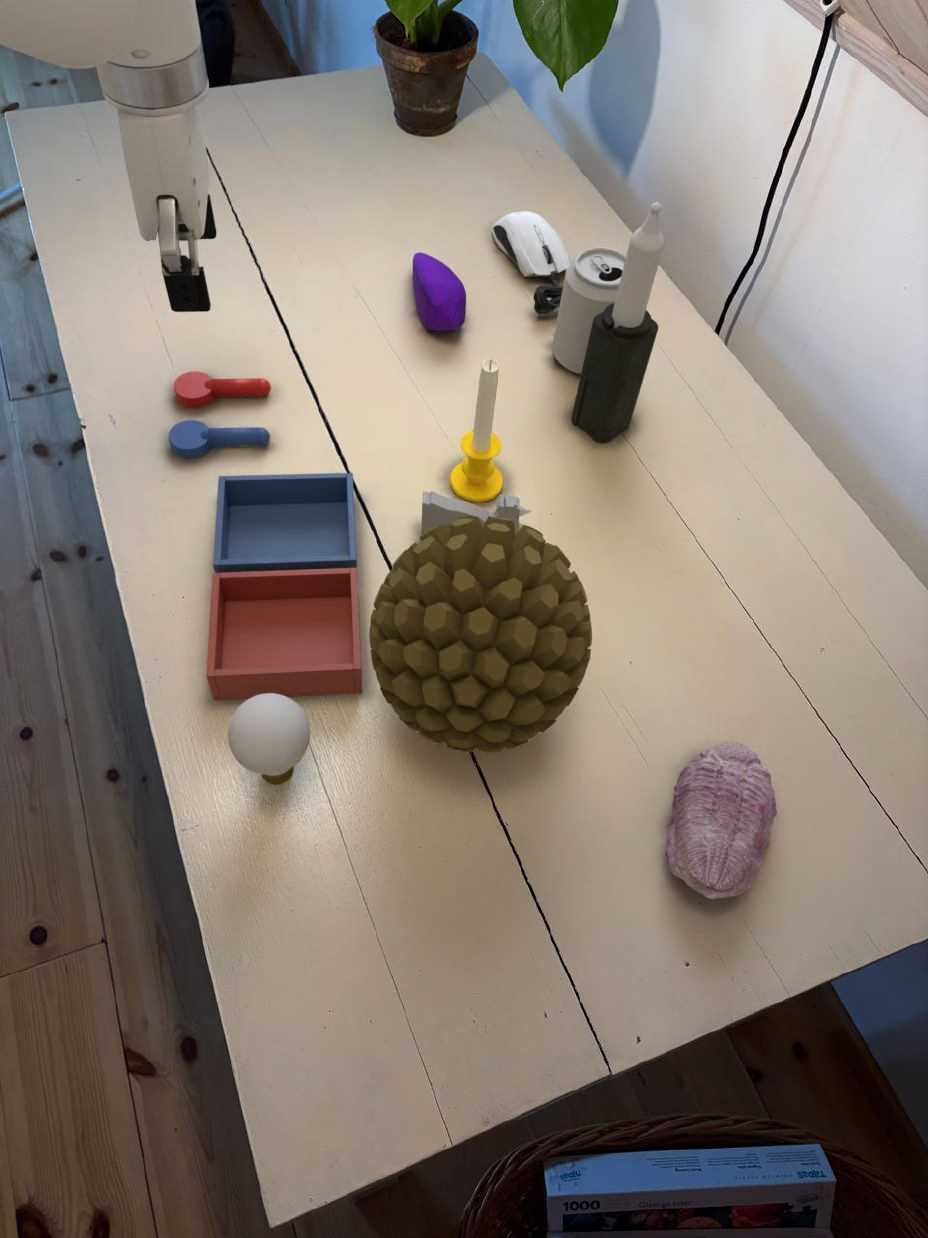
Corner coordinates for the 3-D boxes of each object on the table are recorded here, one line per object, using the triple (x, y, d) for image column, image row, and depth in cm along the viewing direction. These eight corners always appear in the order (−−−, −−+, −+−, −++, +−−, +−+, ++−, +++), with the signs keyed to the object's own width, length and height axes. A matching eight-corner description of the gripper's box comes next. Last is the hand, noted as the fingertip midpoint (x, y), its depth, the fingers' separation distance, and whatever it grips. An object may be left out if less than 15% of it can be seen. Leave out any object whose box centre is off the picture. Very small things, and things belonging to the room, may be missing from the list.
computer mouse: (537, 215, 119) (541, 185, 116) (612, 302, 110) (619, 273, 107) (466, 232, 116) (468, 202, 113) (538, 323, 107) (543, 293, 104)
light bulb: (326, 752, 76) (319, 691, 68) (299, 818, 73) (288, 763, 65) (258, 731, 77) (243, 668, 68) (227, 795, 73) (208, 738, 65)
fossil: (641, 890, 72) (657, 866, 67) (685, 736, 79) (701, 706, 75) (746, 931, 70) (769, 909, 66) (780, 770, 78) (802, 742, 74)
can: (583, 390, 102) (604, 296, 92) (536, 351, 105) (552, 257, 95) (631, 362, 105) (657, 269, 95) (585, 326, 108) (605, 232, 98)
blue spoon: (271, 428, 95) (269, 415, 94) (270, 457, 93) (268, 444, 92) (172, 430, 94) (169, 417, 93) (169, 459, 92) (166, 446, 91)
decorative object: (394, 599, 85) (396, 441, 68) (579, 633, 84) (627, 482, 68) (349, 767, 75) (339, 632, 59) (557, 807, 75) (607, 682, 58)
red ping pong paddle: (272, 380, 99) (270, 367, 98) (271, 407, 97) (269, 394, 96) (177, 381, 98) (174, 368, 97) (174, 408, 96) (171, 395, 94)
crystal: (436, 232, 109) (477, 302, 100) (436, 271, 113) (475, 342, 104) (396, 237, 108) (434, 309, 99) (397, 276, 112) (433, 348, 103)
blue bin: (219, 592, 84) (213, 565, 81) (224, 504, 90) (218, 475, 86) (357, 586, 85) (356, 559, 82) (353, 500, 91) (352, 472, 88)
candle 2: (566, 418, 99) (614, 198, 78) (599, 397, 101) (654, 178, 80) (601, 446, 97) (660, 228, 76) (634, 424, 99) (700, 206, 79)
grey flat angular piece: (421, 530, 90) (526, 535, 90) (421, 542, 89) (526, 546, 89) (422, 490, 85) (533, 495, 85) (422, 502, 84) (534, 507, 84)
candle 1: (501, 505, 92) (520, 383, 79) (448, 500, 92) (458, 377, 79) (503, 465, 95) (522, 341, 82) (451, 460, 95) (462, 336, 82)
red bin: (213, 700, 78) (206, 676, 75) (219, 599, 83) (212, 572, 80) (362, 693, 79) (361, 668, 76) (358, 593, 85) (356, 567, 82)
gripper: (111, 7, 72) (159, 211, 86) (82, 135, 62) (141, 340, 77) (212, 9, 72) (243, 211, 87) (198, 136, 63) (235, 339, 77)
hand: (195, 272), depth 82 cm, fingers open, 9 cm apart
